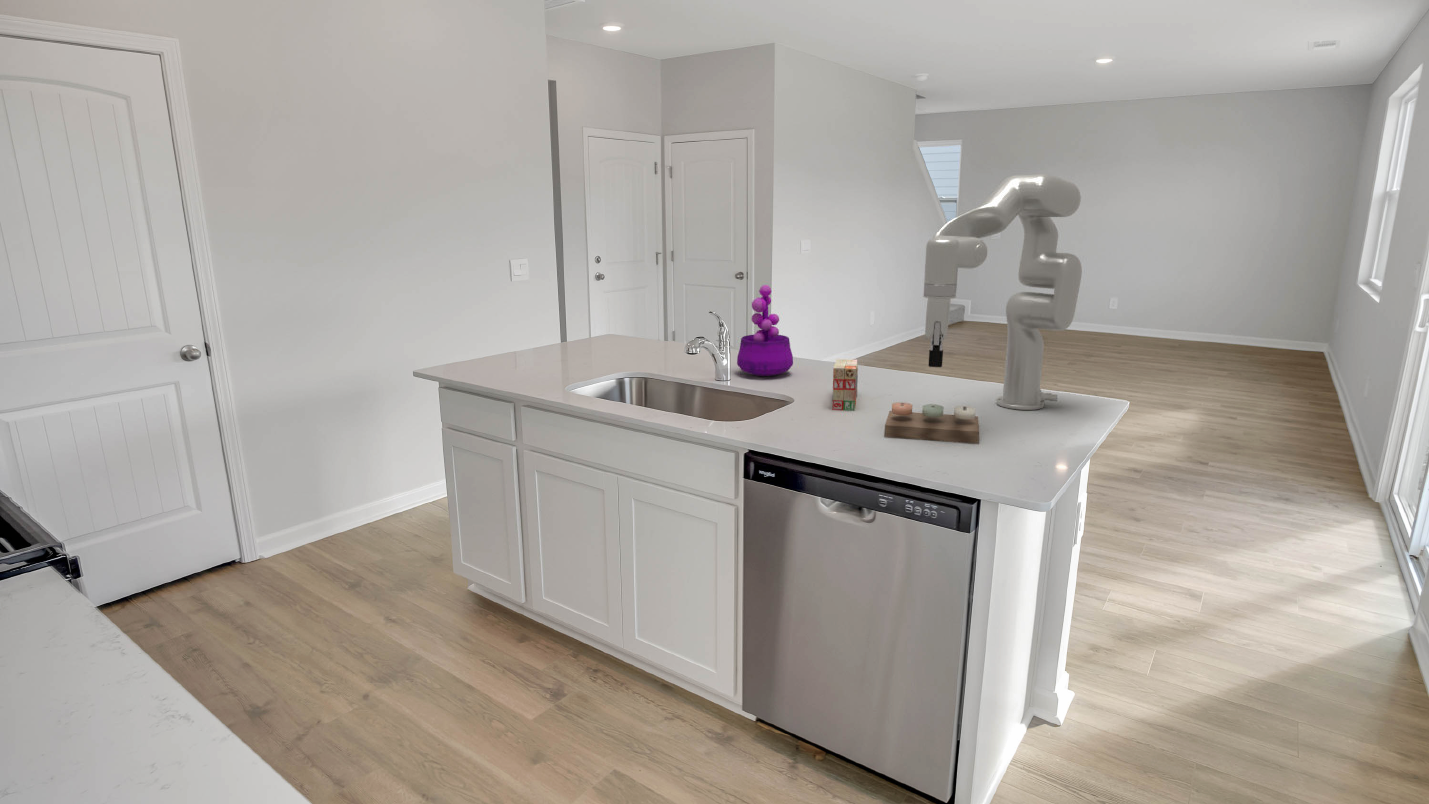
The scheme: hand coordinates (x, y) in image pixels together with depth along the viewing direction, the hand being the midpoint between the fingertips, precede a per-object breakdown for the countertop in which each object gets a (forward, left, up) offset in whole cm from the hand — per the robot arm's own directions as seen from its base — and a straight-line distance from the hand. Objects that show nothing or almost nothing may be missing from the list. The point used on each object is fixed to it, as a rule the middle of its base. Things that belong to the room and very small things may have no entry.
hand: (935, 366), depth 191 cm
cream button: (-8, 0, -12) cm, 14 cm away
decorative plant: (+56, -56, -17) cm, 81 cm away
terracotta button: (+7, 0, -12) cm, 14 cm away
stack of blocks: (+25, -26, -17) cm, 40 cm away
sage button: (0, 0, -12) cm, 12 cm away
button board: (0, 0, -17) cm, 17 cm away
